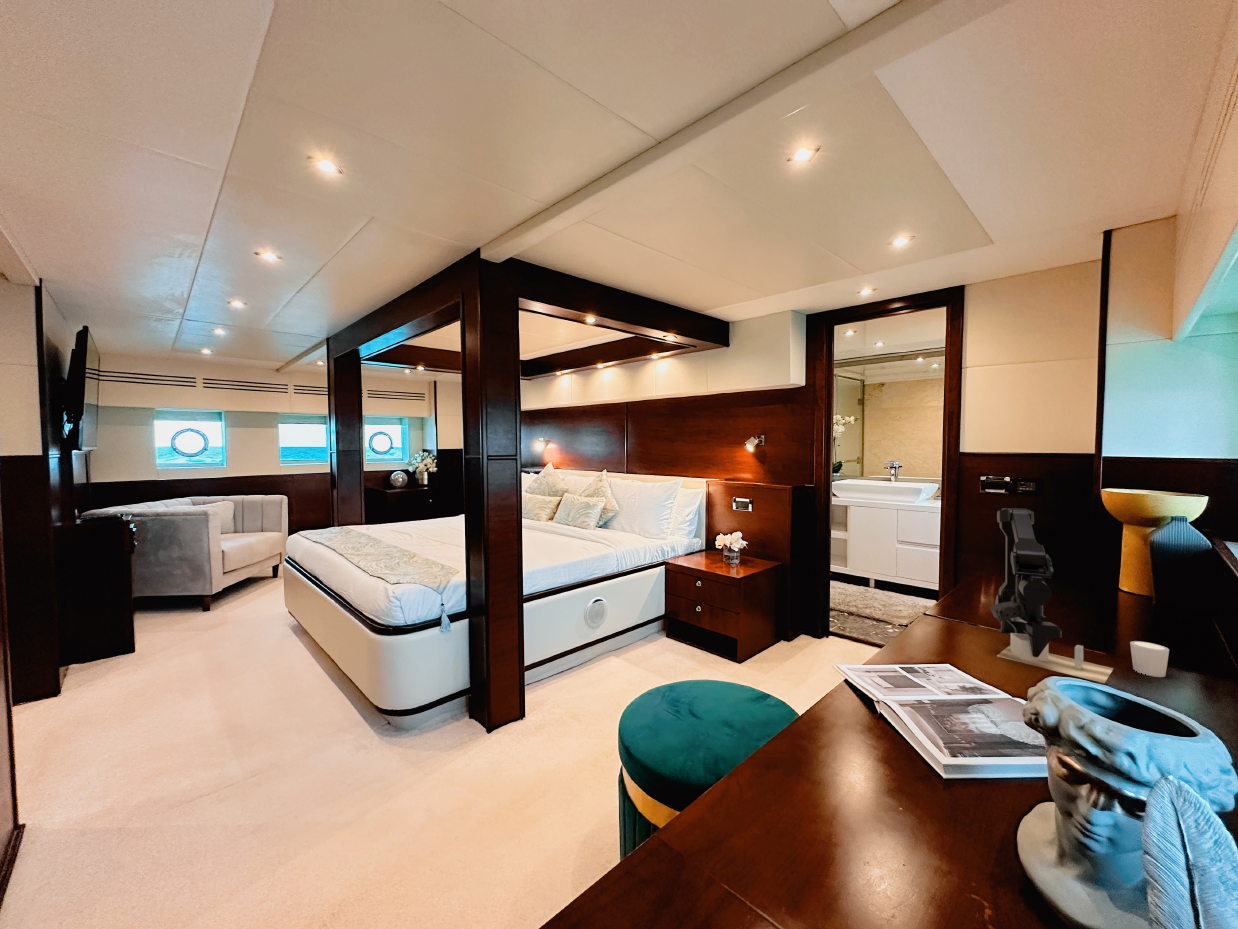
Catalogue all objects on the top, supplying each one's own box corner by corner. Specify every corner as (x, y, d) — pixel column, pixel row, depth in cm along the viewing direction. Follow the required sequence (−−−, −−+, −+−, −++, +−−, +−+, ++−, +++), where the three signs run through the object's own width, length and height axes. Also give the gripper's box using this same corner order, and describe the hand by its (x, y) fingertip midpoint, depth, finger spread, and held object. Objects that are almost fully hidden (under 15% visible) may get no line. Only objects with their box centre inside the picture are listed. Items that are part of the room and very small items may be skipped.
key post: (1076, 666, 126) (1077, 644, 126) (1083, 667, 125) (1083, 646, 125) (1074, 668, 125) (1074, 647, 125) (1080, 670, 124) (1081, 648, 124)
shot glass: (1177, 678, 123) (1177, 650, 123) (1149, 678, 123) (1149, 650, 123) (1148, 667, 130) (1148, 640, 130) (1122, 666, 130) (1122, 640, 130)
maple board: (1010, 649, 141) (1011, 644, 141) (1113, 674, 125) (1113, 668, 125) (996, 661, 133) (996, 655, 133) (1104, 689, 116) (1104, 683, 116)
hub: (1010, 650, 137) (1010, 632, 137) (1036, 653, 135) (1036, 634, 135) (1021, 658, 131) (1021, 639, 131) (1048, 661, 129) (1048, 642, 129)
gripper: (980, 584, 144) (979, 637, 144) (1010, 601, 126) (1010, 662, 126) (1025, 587, 141) (1024, 641, 141) (1063, 605, 123) (1062, 667, 123)
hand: (1028, 652), depth 133 cm, fingers open, 6 cm apart
